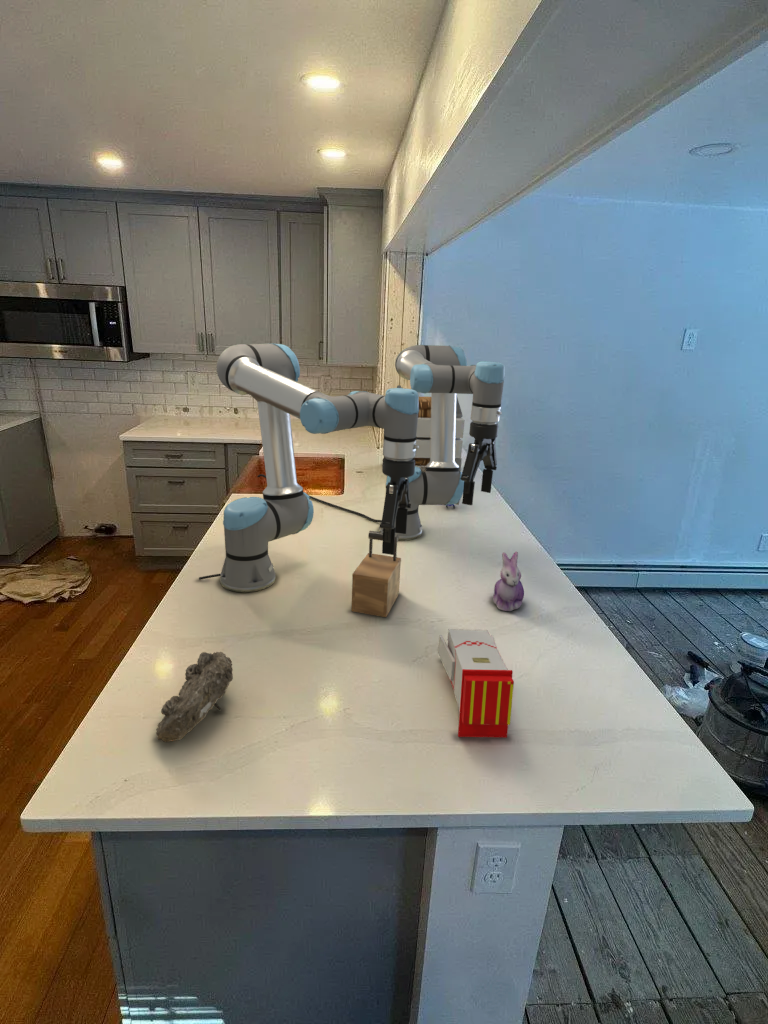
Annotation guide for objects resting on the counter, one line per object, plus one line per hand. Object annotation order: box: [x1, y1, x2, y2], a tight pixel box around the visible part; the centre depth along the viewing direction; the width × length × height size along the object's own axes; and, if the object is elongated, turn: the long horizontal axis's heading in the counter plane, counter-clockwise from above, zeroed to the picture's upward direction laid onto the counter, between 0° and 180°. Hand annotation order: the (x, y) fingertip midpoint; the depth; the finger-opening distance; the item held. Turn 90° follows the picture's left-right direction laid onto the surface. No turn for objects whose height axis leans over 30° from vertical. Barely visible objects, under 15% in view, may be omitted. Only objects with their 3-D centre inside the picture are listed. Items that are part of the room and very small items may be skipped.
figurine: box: [492, 551, 525, 612], centre depth 152 cm, size 9×10×15 cm
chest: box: [351, 561, 402, 618], centre depth 151 cm, size 14×9×10 cm
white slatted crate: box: [383, 384, 465, 472], centre depth 268 cm, size 34×33×41 cm
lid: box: [352, 530, 402, 583], centre depth 148 cm, size 14×9×9 cm
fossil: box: [155, 651, 234, 743], centre depth 109 cm, size 22×10×15 cm
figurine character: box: [445, 501, 460, 509], centre depth 231 cm, size 7×8×15 cm
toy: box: [437, 628, 515, 738], centre depth 117 cm, size 12×13×30 cm
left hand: (394, 542), depth 137 cm, fingers open, 13 cm apart
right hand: (476, 497), depth 158 cm, fingers open, 13 cm apart
